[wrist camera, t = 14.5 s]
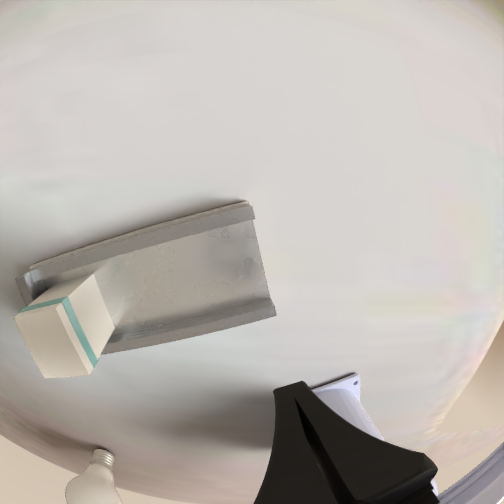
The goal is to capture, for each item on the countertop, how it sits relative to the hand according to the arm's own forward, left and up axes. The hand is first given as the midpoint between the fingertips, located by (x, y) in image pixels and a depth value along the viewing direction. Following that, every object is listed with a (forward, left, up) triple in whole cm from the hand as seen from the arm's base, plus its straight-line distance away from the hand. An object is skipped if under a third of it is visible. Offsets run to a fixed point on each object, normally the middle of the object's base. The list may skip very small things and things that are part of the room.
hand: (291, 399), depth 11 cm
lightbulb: (-15, +22, -11) cm, 29 cm away
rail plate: (+4, +8, -10) cm, 14 cm away
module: (+3, +13, -10) cm, 16 cm away
